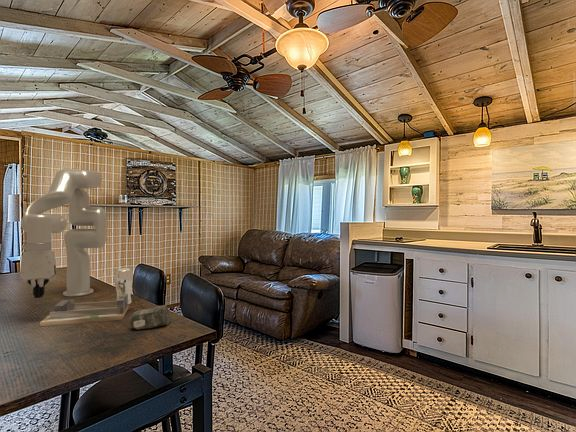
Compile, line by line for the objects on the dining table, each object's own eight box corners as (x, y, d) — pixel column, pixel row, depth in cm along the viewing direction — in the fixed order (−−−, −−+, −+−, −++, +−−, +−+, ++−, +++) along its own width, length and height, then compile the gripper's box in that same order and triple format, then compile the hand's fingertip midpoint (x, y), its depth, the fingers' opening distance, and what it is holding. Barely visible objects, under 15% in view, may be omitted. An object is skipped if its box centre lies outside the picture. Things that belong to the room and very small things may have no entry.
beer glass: (135, 303, 144) (135, 269, 144) (118, 306, 139) (118, 271, 139) (128, 300, 149) (128, 267, 149) (112, 303, 144) (112, 269, 144)
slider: (62, 310, 128) (62, 298, 128) (74, 309, 129) (74, 298, 129) (50, 320, 116) (50, 307, 116) (63, 319, 118) (63, 306, 117)
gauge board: (57, 312, 131) (57, 296, 131) (128, 307, 139) (128, 292, 138) (40, 326, 115) (40, 308, 115) (121, 319, 123) (121, 302, 123)
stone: (143, 345, 110) (127, 320, 109) (138, 341, 116) (123, 318, 115) (179, 319, 118) (165, 295, 117) (173, 317, 124) (159, 295, 123)
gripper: (9, 249, 116) (9, 301, 116) (58, 248, 120) (58, 298, 120) (19, 247, 123) (19, 296, 123) (66, 246, 127) (65, 293, 127)
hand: (38, 297), depth 121 cm, fingers closed
